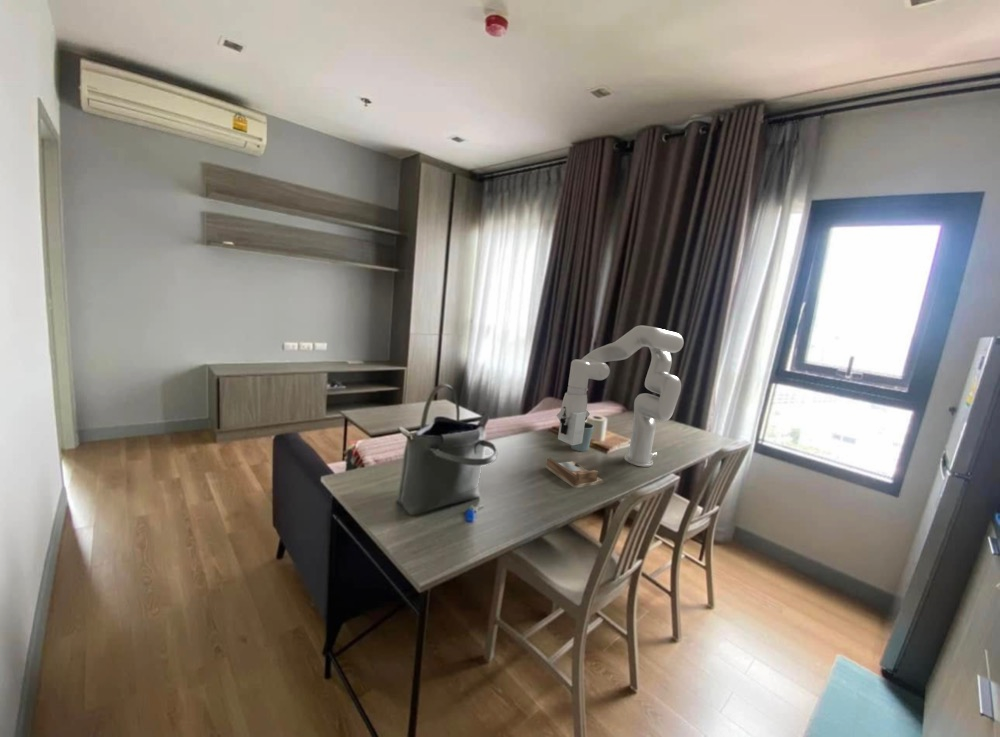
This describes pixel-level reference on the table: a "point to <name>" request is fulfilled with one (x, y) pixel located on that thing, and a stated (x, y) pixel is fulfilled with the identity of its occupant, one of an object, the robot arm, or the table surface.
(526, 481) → the table surface
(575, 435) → the small box
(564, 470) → the wooden tray
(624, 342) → the robot arm
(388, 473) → the table surface
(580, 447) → the teal cup
